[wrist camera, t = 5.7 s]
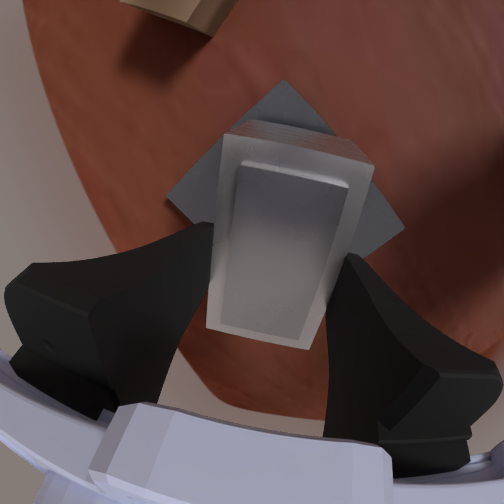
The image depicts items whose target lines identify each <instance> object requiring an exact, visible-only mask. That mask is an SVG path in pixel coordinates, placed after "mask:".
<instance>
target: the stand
mask: <svg viewBox="0 0 504 504" xmlns="http://www.w3.org/2000/svg"><path fill="white" fill-rule="evenodd" d="M250 119H254V120H260V121H266V122H271V123H277V124H282V125H287V126H292V127H297V128H302V129H307V130H311V131H316V132H320V133H324V134H328V135H333V136H336V134H335V133H334V132H333V131H332V130H331V129H330V127H329V126H328V125H327V124H326V123H325V122H324V121H323V119H322V118H321V117H320V116H319V115H318V114H317V113H316V112H315V111H314V109H313V108H312V107H311V106H310V105H309V104H308V103H307V102H306V101H305V100H304V99H303V98H302V97H301V96H300V95H299V94H298V93H297V91H296V90H295V89H294V88H293V87H292V86H291V85H290V84H289V83H288V82H287V81H286V80H285V79H284V80H283V81H281V82H280V83H279V84H278V85H277V86H276V87H274V88H273V89H272V90H271V91H270V92H269V93H268V94H267V95H265V96H264V97H263V98H262V99H261V100H260V101H259V102H258V103H257V104H255V105H254V106H253V107H252V108H251V109H250V110H249V111H248V112H247V113H246V114H245V115H244V116H243V117H241V118H240V119H239V120H238V121H237V122H236V123H235V124H234V125H233V126H232V127H231V128H230V129H229V130H231V129H233V128H235V127H237V126H238V125H240V124H242V123H244V122H246V121H248V120H250ZM229 130H228V131H229ZM228 131H227V132H228ZM223 138H224V135H223V136H222V137H221V138H220V139H219V140H218V141H217V142H216V143H215V144H214V145H213V146H212V147H211V148H210V149H209V150H208V151H207V152H206V153H205V154H204V155H203V156H202V157H201V158H200V159H199V160H198V161H197V162H196V163H195V165H194V166H193V167H192V168H191V169H190V170H189V171H188V172H187V173H186V174H185V175H184V176H183V177H182V179H181V180H180V181H179V182H178V183H177V184H176V185H175V186H174V187H173V188H172V190H171V191H170V192H169V193H168V194H167V195H166V197H167V198H168V199H169V200H170V201H171V202H172V203H173V204H174V205H175V206H176V207H177V208H178V209H179V210H180V211H181V212H182V213H183V214H184V215H185V216H186V217H187V218H188V219H190V220H191V221H192V222H193V223H194V224H197V223H199V222H202V221H204V222H209V223H214V219H215V209H216V199H217V190H218V181H219V172H220V163H221V154H222V146H223ZM404 229H405V227H404V225H403V224H402V222H401V221H400V219H399V218H398V216H397V215H396V213H395V212H394V210H393V209H392V207H391V206H390V204H389V203H388V202H387V200H386V199H385V197H384V196H383V195H382V193H381V192H380V190H379V189H378V188H377V186H376V185H375V184H374V182H373V181H372V180H371V182H370V185H369V188H368V192H367V195H366V198H365V202H364V205H363V208H362V211H361V214H360V217H359V220H358V224H357V227H356V230H355V233H354V236H353V238H352V241H351V244H350V247H349V250H348V252H349V253H353V254H358V255H359V256H360V257H361V258H362V259H363V258H364V257H366V256H367V255H369V254H370V253H372V252H373V251H375V250H376V249H377V248H379V247H380V246H382V245H383V244H384V243H386V242H387V241H389V240H390V239H391V238H393V237H394V236H396V235H397V234H398V233H400V232H401V231H403V230H404Z"/></svg>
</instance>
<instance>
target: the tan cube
mask: <svg viewBox="0 0 504 504" xmlns="http://www.w3.org/2000/svg"><path fill="white" fill-rule="evenodd" d="M120 2H123V3H125V4H128V5H131V6H133V7H136V8H138V9H141V10H143V11H146V12H148V13H151V14H153V15H155V16H158V17H161V18H164V19H167V20H170V21H173V22H175V23H178V24H181V25H183V26H186V27H188V28H191V29H193V30H196V31H198V32H201V33H203V34H206V35H208V36H210V37H214V35H215V34H216V32H217V31H218V29H219V28H220V26H221V25H222V23H223V22H224V20H225V19H226V17H227V16H228V14H229V13H230V11H231V10H232V9H233V7H234V6H235V4H236V3H237V2H238V0H120Z"/></svg>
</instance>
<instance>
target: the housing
mask: <svg viewBox="0 0 504 504" xmlns="http://www.w3.org/2000/svg"><path fill="white" fill-rule="evenodd" d="M374 168H375V165H374V164H373V163H372V162H371V161H370V160H369V158H368V157H367V156H366V155H365V154H364V153H363V152H362V151H361V149H360V148H359V147H358V146H357V145H356V144H355V143H354V142H353V141H352V140H348V139H344V138H340V137H337V136H333V135H328V134H324V133H320V132H316V131H311V130H307V129H302V128H297V127H292V126H287V125H282V124H277V123H271V122H266V121H260V120H254V119H250V120H248V121H246V122H244V123H242V124H240V125H238V126H237V127H235V128H233V129H231V130H229V131H228V132H226V133H224V138H223V146H222V154H221V163H220V172H219V181H218V190H217V199H216V209H215V219H214V237H213V248H212V260H211V272H210V283H209V290H208V304H207V320H206V328H209V329H213V330H217V331H221V332H225V333H229V334H234V335H238V336H242V337H247V338H251V339H256V340H260V341H265V342H270V343H275V344H280V345H285V346H290V347H295V348H300V349H306V350H309V348H310V346H311V344H312V342H313V339H314V337H315V335H316V332H317V330H318V328H319V325H320V323H321V320H322V318H323V316H324V313H325V311H326V307H327V304H328V302H329V299H330V297H331V294H332V292H333V289H334V287H335V284H336V281H337V279H338V276H339V273H340V271H341V268H342V265H343V262H344V260H345V257H346V256H347V253H348V250H349V247H350V244H351V241H352V238H353V236H354V233H355V230H356V227H357V224H358V220H359V217H360V214H361V211H362V208H363V205H364V202H365V198H366V195H367V192H368V188H369V185H370V182H371V178H372V175H373V171H374Z"/></svg>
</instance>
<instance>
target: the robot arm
mask: <svg viewBox="0 0 504 504" xmlns="http://www.w3.org/2000/svg"><path fill="white" fill-rule="evenodd" d="M213 237H214V223H209V222H204V221H202V222H199V223H197V224H194V225H192V226H190V227H188V228H185V229H183V230H181V231H179V232H177V233H174V234H172V235H170V236H168V237H165V238H163V239H160V240H158V241H155V242H153V243H150V244H148V245H145V246H142V247H139V248H136V249H133V250H129V251H126V252H122V253H118V254H113V255H109V256H104V257H99V258H94V259H87V260H80V261H71V262H52V263H32V264H30V266H28V267H27V268H26V269H25V270H24V271H23V272H21V273H20V274H19V275H18V276H17V277H16V278H15V279H13V280H12V281H11V282H10V283H9V284H8V285H7V286H6V288H5V292H4V299H5V305H6V309H7V311H8V314H9V317H10V319H11V321H12V323H13V326H14V328H15V330H16V332H17V334H18V336H19V338H20V341H21V343H22V344H23V345H22V346H21V347H20V349H19V350H18V351H17V352H16V354H15V355H14V356H13V357H10V356H9V355H8V354H6V353H5V352H3V351H2V350H0V441H2V442H3V443H4V444H5V445H6V446H8V447H9V448H10V449H11V450H12V451H14V452H15V453H17V454H18V455H19V456H20V457H22V458H23V459H24V460H26V461H27V462H28V463H30V464H31V465H32V466H34V467H35V468H37V469H38V470H39V471H41V472H42V473H44V474H45V475H46V477H45V479H44V480H43V482H42V484H41V486H40V488H39V490H38V493H37V495H36V497H35V499H34V501H33V503H32V504H504V441H502V442H501V443H499V444H498V445H497V446H495V447H494V448H493V449H492V450H491V451H490V452H486V453H482V454H477V455H472V456H470V455H469V449H468V445H467V440H469V439H470V438H471V437H472V432H471V428H470V426H471V425H472V424H473V423H474V422H476V421H477V420H478V419H479V418H480V417H481V416H482V415H483V414H484V413H485V412H486V411H487V410H488V409H489V408H490V407H491V406H492V405H493V404H494V403H495V402H496V400H497V399H498V397H499V395H500V394H501V391H502V388H503V381H502V378H501V375H500V373H499V371H498V368H497V366H496V364H495V362H494V361H492V360H490V359H488V358H486V357H483V356H482V355H480V354H478V353H476V352H473V351H471V350H469V349H468V348H466V347H464V346H463V345H461V344H459V343H457V342H456V341H454V340H452V339H451V338H449V337H448V336H446V335H445V334H443V333H442V332H440V331H439V330H438V329H436V328H435V327H433V326H432V325H431V324H429V323H428V322H427V321H425V320H424V319H423V318H422V317H420V316H419V315H418V314H417V313H416V312H415V311H413V310H412V309H411V308H410V307H409V306H408V305H407V304H405V303H404V302H403V301H402V300H401V299H400V298H399V297H398V296H397V295H396V294H395V293H394V292H393V291H392V290H391V289H390V288H389V287H388V286H387V285H386V283H385V282H384V281H383V280H382V279H381V278H380V277H379V276H378V275H377V274H376V273H375V271H374V270H373V269H372V268H371V267H370V266H369V265H368V264H367V263H366V262H365V261H364V260H363V259H362V258H361V257H360V256H359V255H358V254H353V253H349V252H348V253H347V256H346V257H345V260H344V262H343V265H342V268H341V271H340V273H339V276H338V279H337V281H336V284H335V287H334V289H333V292H332V294H331V297H330V299H329V302H328V304H327V307H326V329H327V342H328V356H329V387H328V400H327V409H326V418H325V425H324V432H323V437H315V436H307V435H299V434H291V433H285V432H278V431H272V430H267V429H261V428H256V427H251V426H246V425H241V424H237V423H232V422H228V421H223V420H219V419H215V418H211V417H208V416H203V415H200V414H196V413H193V412H189V411H186V410H182V409H179V408H175V407H169V406H164V405H159V404H157V402H158V399H159V396H160V393H161V390H162V387H163V384H164V381H165V378H166V375H167V373H168V370H169V367H170V364H171V362H172V359H173V356H174V354H175V351H176V349H177V346H178V344H179V342H180V340H181V338H182V335H183V333H184V332H185V330H186V328H187V326H188V324H189V322H190V321H191V319H192V317H193V315H194V313H195V311H196V310H197V308H198V306H199V304H200V302H201V300H202V299H203V297H204V295H205V293H206V291H207V288H208V286H209V283H210V272H211V260H212V248H213Z"/></svg>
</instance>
